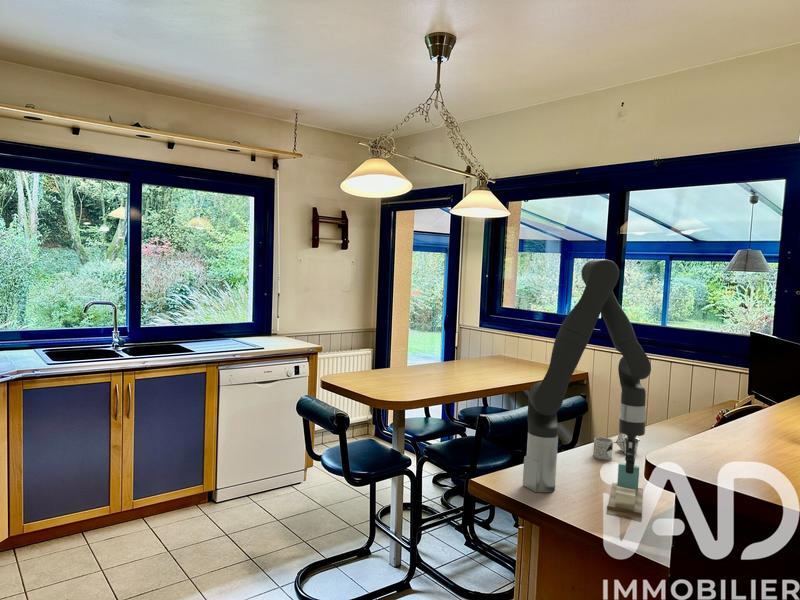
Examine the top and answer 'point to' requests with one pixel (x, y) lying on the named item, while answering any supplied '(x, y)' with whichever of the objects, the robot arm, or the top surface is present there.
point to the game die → (621, 441)
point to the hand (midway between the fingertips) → (630, 468)
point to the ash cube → (625, 498)
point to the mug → (603, 448)
